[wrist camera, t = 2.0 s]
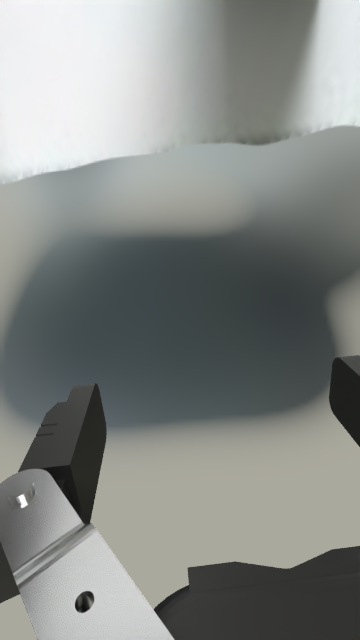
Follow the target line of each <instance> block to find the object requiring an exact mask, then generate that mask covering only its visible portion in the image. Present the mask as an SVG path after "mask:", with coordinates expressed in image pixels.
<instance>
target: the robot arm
mask: <svg viewBox="0 0 360 640" xmlns="http://www.w3.org/2000/svg"><path fill="white" fill-rule="evenodd" d="M329 394H330V395H329V402H330V406H331V409H332V411H333V414H334V415H335V416H336V418H337V419H338V420H339V422H340V423H341V424H342V425H343V426H344V428H345V429H346V430H347V431H348V433H349V434H350V435H351V437H352V438H353V439H354V440H355V442H356V443H357V444H358V445H359V447H360V356H359V355H357V356H348V357H337V358H335V359H334V361H333V364H332V373H331V383H330V393H329ZM105 443H106V421H105V416H104V411H103V406H102V401H101V396H100V391H99V387H98V385H97V384H96V383H95V384H86V385H76V386H73V388H72V390H71V392H70V395H69V397H68V400H67V402H60V403H57V404H56V405H55V406H54V407H53V408H52V409H51V410H50V411H49V412H47V413H46V416H45V418H44V420H43V422H42V424H41V427H40V428H39V430H38V432H37V434H36V437H35V438H34V440H33V442H32V444H31V446H30V449H29V451H28V453H27V455H26V457H25V459H24V461H23V463H22V465H21V467H20V469H19V471H18V473H16V474H14V475H12V476H11V477H9V478H7V479H6V480H5V481H3V482H2V483H1V484H0V603H2V602H3V601H6V600H8V599H10V598H12V597H14V596H16V595H19V594H20V595H21V597H22V600H23V602H24V605H25V607H26V610H27V613H28V615H29V618H30V621H31V623H32V626H33V628H34V631H35V634H36V636H37V639H38V640H360V546H356V547H349V548H340V549H334V550H330V551H328V552H326V553H324V554H321V555H319V556H317V557H315V558H313V559H311V560H308V561H306V562H304V563H302V564H300V565H298V566H295V567H293V568H290V569H282V568H275V567H267V566H261V565H254V564H247V563H241V562H229V563H221V564H214V565H205V566H197V567H189V568H188V577H189V585H188V586H186V587H184V588H182V589H180V590H178V591H176V592H175V593H173V594H171V595H170V596H168V597H167V598H166V599H165V600H163V601H162V602H161V603H160V604H158V606H157V607H156V608H155V609H154V610H153V608H152V607H151V606H150V604H149V603H148V601H147V600H146V599H145V597H144V596H143V594H142V593H141V592H140V590H139V589H138V587H137V586H136V584H135V583H134V582H133V580H132V579H131V577H130V576H129V574H128V573H127V572H126V570H125V569H124V567H123V566H122V565H121V563H120V562H119V560H118V559H117V557H116V556H115V555H114V553H113V552H112V550H111V549H110V548H109V546H108V545H107V543H106V542H105V541H104V539H103V538H102V536H101V535H100V533H99V532H98V531H97V529H96V528H95V527H94V526H93V525H92V524H91V523H90V520H91V515H92V510H93V505H94V499H95V494H96V489H97V484H98V479H99V474H100V468H101V464H102V458H103V453H104V448H105Z"/></svg>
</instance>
